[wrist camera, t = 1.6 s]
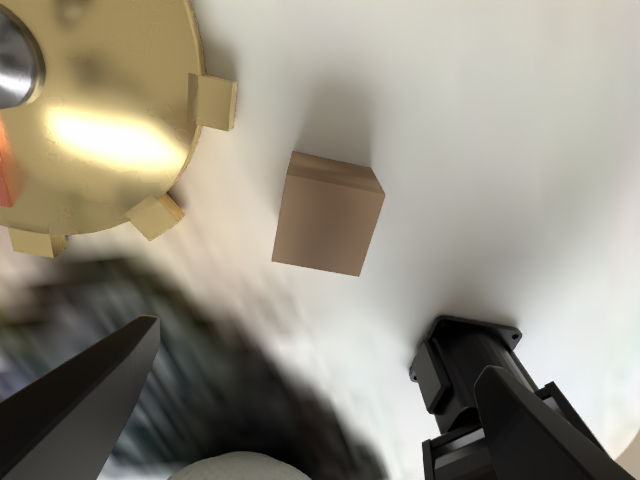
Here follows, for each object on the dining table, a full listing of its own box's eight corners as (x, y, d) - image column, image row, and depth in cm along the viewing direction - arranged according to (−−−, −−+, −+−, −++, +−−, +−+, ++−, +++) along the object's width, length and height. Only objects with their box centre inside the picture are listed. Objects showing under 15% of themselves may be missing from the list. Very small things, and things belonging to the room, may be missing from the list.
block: (370, 167, 19) (385, 194, 15) (350, 236, 21) (358, 276, 17) (292, 150, 18) (286, 174, 14) (280, 223, 21) (271, 261, 17)
